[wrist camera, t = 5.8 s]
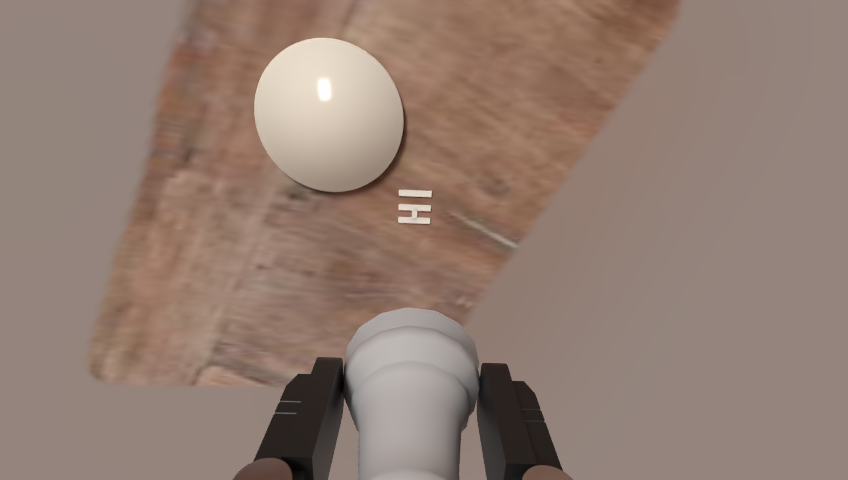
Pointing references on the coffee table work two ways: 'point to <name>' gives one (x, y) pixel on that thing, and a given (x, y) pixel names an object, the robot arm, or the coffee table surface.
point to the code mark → (414, 207)
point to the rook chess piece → (410, 394)
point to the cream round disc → (328, 114)
